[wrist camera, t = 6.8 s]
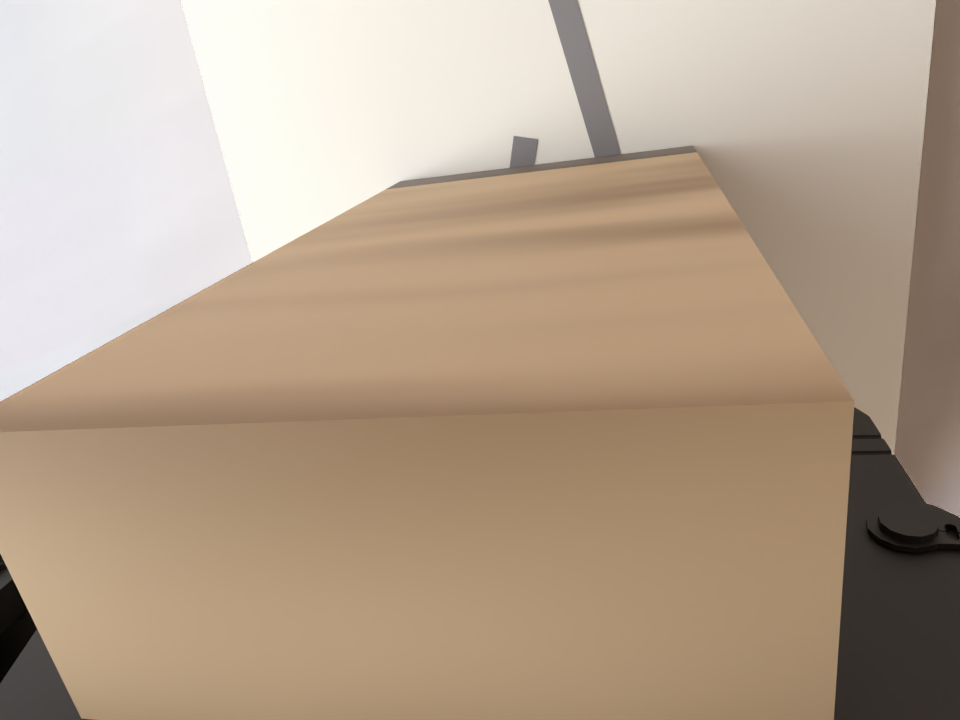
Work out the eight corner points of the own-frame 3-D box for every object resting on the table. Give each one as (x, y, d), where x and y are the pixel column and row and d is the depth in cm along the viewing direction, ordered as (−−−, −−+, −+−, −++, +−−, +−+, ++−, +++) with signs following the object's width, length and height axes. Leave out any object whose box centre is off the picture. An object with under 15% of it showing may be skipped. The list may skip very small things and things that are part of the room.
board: (64, -603, 12) (-8, -686, 11) (985, -1029, 9) (1048, -1227, 7) (354, 534, 21) (335, 567, 20) (863, 537, 18) (883, 577, 16)
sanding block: (399, 181, 15) (-60, 434, 5) (692, 145, 13) (855, 400, 4) (458, 497, 18) (241, 1043, 8) (702, 495, 16) (804, 1158, 7)
